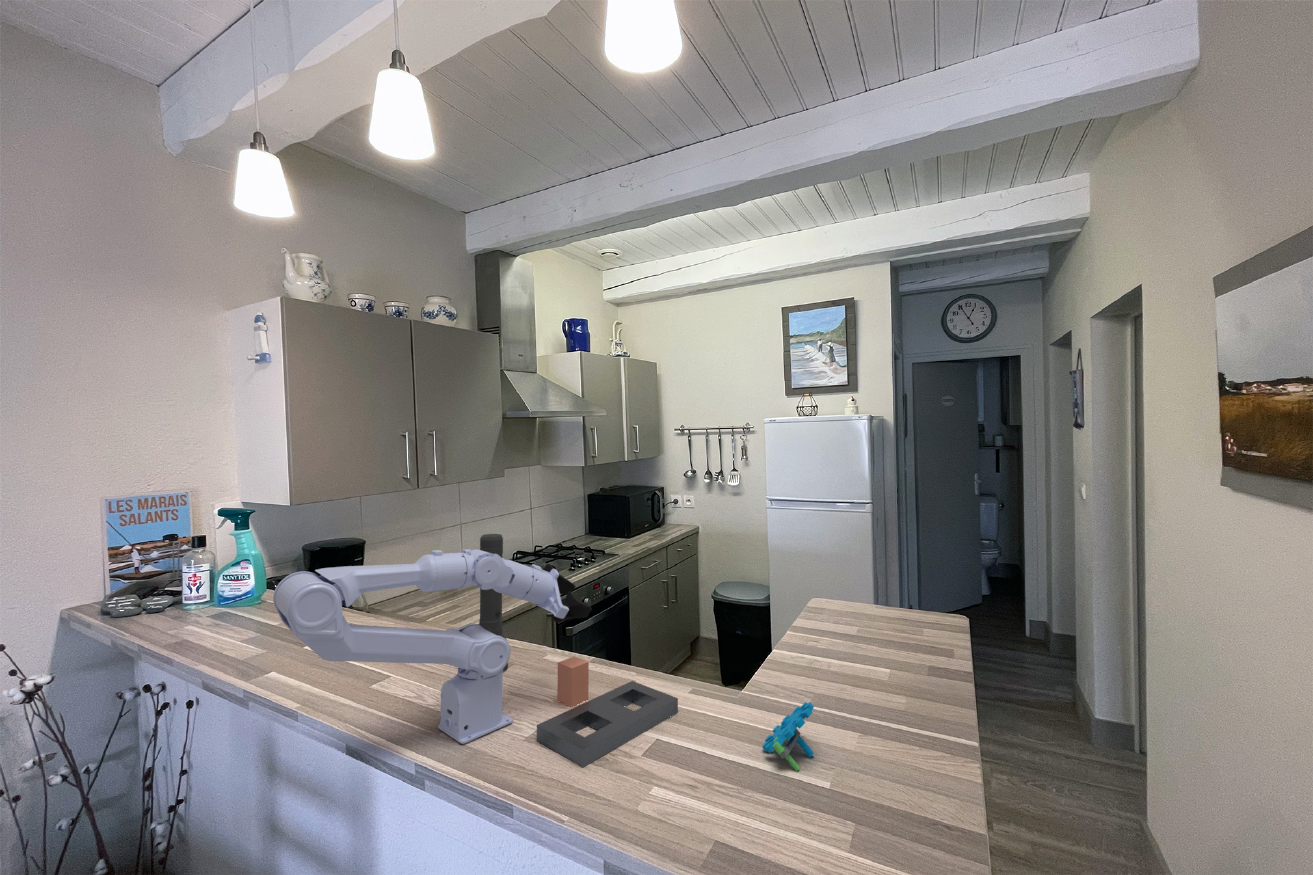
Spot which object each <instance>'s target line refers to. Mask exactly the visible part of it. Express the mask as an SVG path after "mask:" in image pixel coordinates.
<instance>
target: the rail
mask: <svg viewBox="0 0 1313 875" xmlns="http://www.w3.org/2000/svg"><path fill="white" fill-rule="evenodd" d="M629 704H630V705H631V704H634V705H637V706H639V707H640V708H637V709H635V710H633V709H631V708H629V707H627V705H628V706H630V705H629ZM624 706H626V707H624ZM678 707H679V698H678V697H676V696H673V695H672V694H671V695H670V694H668V693H665V692H662V691H661V690H658V689H655V688H652V687H649V686H647V685H645V684H642V683H639V682H636V681H633V680H631V681H629V682H626V683H625V684H623V685H620V686H618V687H616V688H614V689H611V690H610V691H608V692H605V693H603V694H601V695H598V696H596V697H595V698H592V699H590V700H587V701H585V702H583V703H581V704H579V705H577V706H574V707H572V708H571V709H568V710H566V711H564V712H562V713H560V714H558V715H555V716H553V717H550V718H549V719H547V720H544V721H543V722H540V723H538V724H536V742H538V743H540V744H541V745H543V746H545V747H547V748H549V749H550V750H552V751H553V752H556V753H557V754H559V755H561V756H562V757H564V758H566V759H568V760H569V761H571V762H573V763H575V764H577V765H578V766H579V767H582V768H585V767H586V766H588V765H590V764H591V763H593V762H595V761H596V760H597V761H598V759H600V758H602V757H604V756H606V755H607V754H609V753H610V752H613V751H614V750H616V749H618V748H619V747H621V746H623V745H625V744H626V743H628V742H630V741H631V740H633V739H635V738H637V737H638V736H639V735H642V734H644V733H645V732H647V731H648V730H650V729H652V728H654V727H656V726H657V725H659V724H660V723H663V722H664V721H666V720H668V719H670V718H671V717H673V716H675V715H676V714H678V713H679V708H678ZM674 714H675V715H674ZM670 716H671V717H670ZM586 727H590V728H591V729H593V730H596V731H594V732H592V733H590V734H588V735H586V736H583V735H581V734H579V733H577V732H578V731H580V730H582V729H585V728H586Z"/></svg>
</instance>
